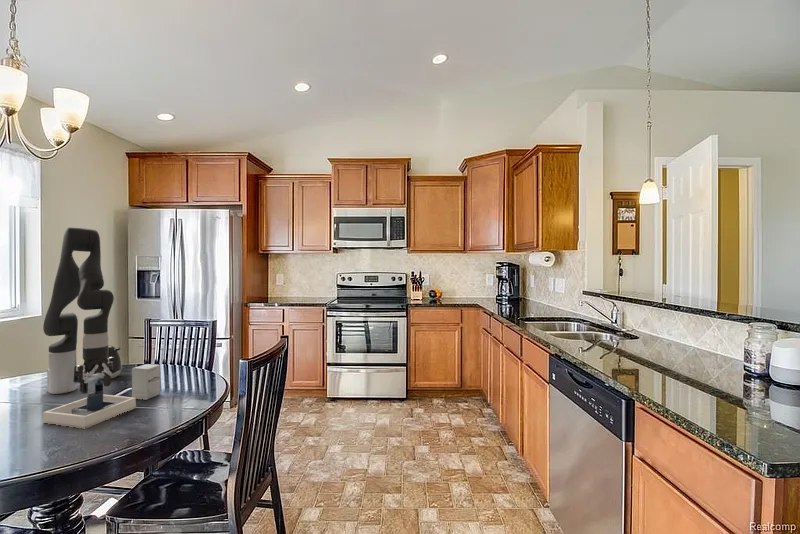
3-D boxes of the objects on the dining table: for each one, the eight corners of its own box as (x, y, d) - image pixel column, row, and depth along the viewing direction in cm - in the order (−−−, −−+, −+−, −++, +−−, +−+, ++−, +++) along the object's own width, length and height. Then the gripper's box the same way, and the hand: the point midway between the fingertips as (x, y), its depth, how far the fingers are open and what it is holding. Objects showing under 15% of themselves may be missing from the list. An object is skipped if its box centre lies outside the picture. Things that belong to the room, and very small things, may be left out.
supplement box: (146, 400, 167) (146, 369, 167) (131, 398, 168) (131, 368, 168) (160, 394, 174) (160, 364, 174) (145, 393, 176) (145, 363, 175)
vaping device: (105, 412, 152) (105, 379, 151) (90, 417, 147) (90, 383, 146) (100, 411, 152) (99, 378, 152) (85, 416, 147) (85, 382, 147)
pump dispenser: (112, 380, 193) (112, 348, 192) (90, 380, 193) (90, 348, 192) (127, 374, 203) (127, 343, 202) (106, 374, 203) (106, 343, 203)
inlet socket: (71, 417, 146) (71, 409, 146) (98, 407, 156) (98, 399, 156) (94, 420, 144) (94, 411, 144) (119, 410, 154) (119, 402, 154)
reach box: (43, 423, 143) (43, 412, 143) (97, 403, 162) (97, 393, 162) (84, 429, 139) (84, 417, 138) (135, 408, 158) (135, 397, 158)
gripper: (105, 340, 157) (105, 382, 157) (67, 348, 143) (67, 394, 144) (121, 341, 155) (121, 384, 156) (84, 350, 142) (84, 397, 142)
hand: (95, 389), depth 150 cm, fingers open, 8 cm apart
